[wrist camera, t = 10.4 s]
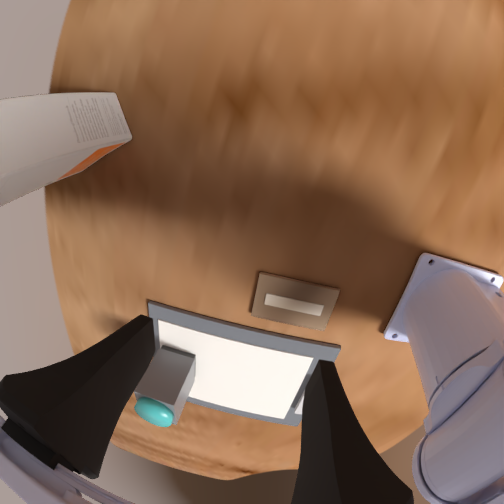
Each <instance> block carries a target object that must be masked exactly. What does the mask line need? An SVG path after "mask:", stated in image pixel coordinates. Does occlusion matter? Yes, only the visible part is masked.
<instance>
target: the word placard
mask: <svg viewBox="0 0 504 504" xmlns="http://www.w3.org/2000/svg"><path fill="white" fill-rule="evenodd" d="M339 293H340V289H338V288H333V287H328V286H324V285H319V284H315V283H310V282H305V281H301V280H296V279H292V278H287V277H283V276H278V275H274V274H269V273H265V272H260V274H259V279H258V284H257V289H256V294H255V299H254V304H253V309H252V314H251V316H254V317H258V318H262V319H267V320H271V321H276V322H281V323H285V324H290V325H295V326H300V327H305V328H310V329H315V330H320V331H324V330H325V328H326V326H327V323H328V321H329V318H330V316H331V313H332V311H333V308H334V306H335V303H336V300H337V298H338V295H339Z"/></svg>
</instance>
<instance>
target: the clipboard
mask: <svg viewBox="0 0 504 504" xmlns="http://www.w3.org/2000/svg"><path fill="white" fill-rule="evenodd" d="M148 308H149V317H150V318H153V324H154V336H155V347H156V351H155V353H154V355H153V358H154V356H155V354H156V353H157V351H158V349H159V348H161V347H162V345H165V346H168V347H171V348H174V349H178V350H181V351H184V352H188V353H191V354H195V355H196V372H195V381H194V384H193V386H192V388H191V391H190V393H189V396H188V398H187V401H188V402H191V403H194V404H198V405H201V406H205V407H208V408H212V409H215V410H219V411H223V412H227V413H231V414H235V415H239V416H244V417H248V418H253V419H258V420H263V421H268V422H273V423H279V424H285V425H291V426H298V425H299V423H300V421H301V420H302V407H303V400H304V393H305V387H306V385H307V383H308V381H309V379H310V377H311V375H312V373H313V371H314V369H315V367H316V365H317V363H318V360H319V359H321V360H327V361H333V362H335V360H336V358H337V356H338V354H339V352H340V350H341V346H340V345H334V344H328V343H323V342H317V341H312V340H307V339H302V338H297V337H292V336H287V335H282V334H277V333H273V332H268V331H264V330H259V329H255V328H251V327H246V326H242V325H238V324H234V323H230V322H226V321H222V320H218V319H214V318H210V317H206V316H203V315H199V314H195V313H192V312H188V311H184V310H181V309H177V308H174V307H170V306H167V305H164V304H160V303H157V302H154V301H149V302H148Z"/></svg>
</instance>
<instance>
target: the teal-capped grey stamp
mask: <svg viewBox="0 0 504 504" xmlns="http://www.w3.org/2000/svg"><path fill="white" fill-rule="evenodd" d="M195 372H196V355H195V354H191V353H188V352H184V351H181V350H178V349H174V348H171V347H168V346H165V345H162V347H161V348H159V349H158V351H157V353H156V354H155V356H154V358H153V359H152V361H151V363H150V365H149V366H148V369H147V370H146V372H145V374H144V375H143V377H142V379H141V380H140V382H139V384H138V385H137V387H136V389H135V391H134V393H135V396H136V400H137V403H136V405H135V407H134V408H135V411H136V412H137V414H138V415H139V416H140V417H142V418H143V419H144V420H146V421H148V422H150V423H152V424H154V425H157V426H161V427H168V426H170V425H171V423H172V424H175V425H177V422H178V420H179V417H180V415H181V413H182V410H183V408H184V405H185V403H186V401H187V398H188V396H189V393H190V391H191V388H192V386H193V384H194V381H195Z"/></svg>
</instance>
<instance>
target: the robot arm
mask: <svg viewBox="0 0 504 504" xmlns="http://www.w3.org/2000/svg"><path fill="white" fill-rule="evenodd" d="M431 259H433V261H432V262H431V263H429V261H430V260H431ZM492 277H493V278H492ZM491 278H492V279H491ZM502 283H503V277H502V276H501V275H499V274H496V273H493V272H490V271H487V270H484V269H480V268H477V267H474V266H471V265H467V264H464V263H461V262H457V261H454V260H450V259H447V258H443V257H440V256H436V255H433V254H429V253H423V254H422V255H420V257H419V259H418V262H417V264H416V266H415V269H414V271H413V273H412V276H411V278H410V280H409V282H408V285H407V287H406V289H405V291H404V293H403V295H402V297H401V299H400V301H399V304H398V306H397V308H396V310H395V312H394V314H393V316H392V317H391V319H390V321H389V323H388V325H387V327H386V329H385V331H384V333H383V334H384V338H385V339H389V340H395V341H402V342H409V343H410V346H411V349H412V352H413V355H414V358H415V362H416V365H417V368H418V372H419V375H420V378H421V382H422V385H423V389H424V393H425V396H426V400H427V404H428V408H429V414H428V416H427V417H426V418H425V419H424V420H423V421H424V426H425V430H426V435H425V436H424V437H423V438H422V439H421V440H420V441H419V443H418V444H417V446H416V448H415V451H414V454H413V460H412V471H413V477H414V481H415V484H416V486H417V488H418V490H419V491H420V493H421V495H422V496H423V497H424V498H425V499H426V500H427V501H429V502H430V503H431V504H504V293H503V292H502V291H501V290H500V287H501V285H502ZM393 334H396V335H393ZM155 351H156V347H155V336H154V324H153V318H150V317H147V316H144V315H139V316H138V317H136V318H135V319H133V320H132V321H130V322H129V323H127V324H126V325H124V326H123V327H121V328H120V329H119V330H117V331H116V332H114V333H113V334H111V335H109V336H108V337H106V338H105V339H103V340H102V341H100V342H98V343H97V344H95V345H93V346H92V347H90V348H88V349H86V350H84V351H83V352H81V353H79V354H77V355H75V356H72V357H70V358H68V359H66V360H63V361H61V362H58V363H55V364H53V365H50V366H47V367H44V368H40V369H37V370H33V371H28V372H24V373H18V374H11V375H6V376H5V377H4V378H3V379H2V380H1V382H0V408H1V409H2V410H3V411H4V413H5V414H6V415H7V416H8V419H7V420H6V421H5V420H4V419H3V418H2V417H1V416H0V478H1V479H2V480H3V481H4V482H5V483H6V484H7V485H8V486H9V487H10V488H11V489H12V490H13V491H14V492H15V493H16V494H18V496H19V497H20V498H22V499H23V500H24V501H25V502H26V503H27V504H92V503H91V502H89V501H87V500H85V499H84V498H82V495H81V493H80V492H82V493H83V494H85V495H87V496H89V497H91V498H92V499H94V500H96V501H98V502H100V503H102V504H134V503H132V502H130V501H127V500H125V499H123V498H121V497H118V496H116V495H114V494H112V493H110V492H108V491H106V490H104V489H102V488H100V487H98V486H96V485H95V484H92V483H91V482H89V481H87V480H85V479H84V478H82V477H80V476H78V475H77V474H75V473H73V471H75V472H77V473H78V474H83V475H85V476H86V477H88V478H90V479H95V478H98V477H99V473H100V469H101V466H102V462H103V459H104V456H105V453H106V450H107V447H108V444H109V441H110V439H111V436H112V434H113V431H114V429H115V426H116V424H117V422H118V419H119V417H120V415H121V413H122V411H123V409H124V407H125V405H126V403H127V402H128V400H129V398H130V397H131V395H132V393H133V392H134V390H135V388H136V387H137V385H138V384H139V382H140V380H141V379H142V377H143V375H144V374H145V372H146V370H147V369H148V366H149V364H150V362H151V360H152V358H153V355H154V353H155ZM79 491H80V492H79ZM291 504H414V499H413V493H412V490H411V489H410V488H409V487H408V486H407V485H405V484H404V483H403V482H402V481H401V480H400V479H399V478H398V477H397V476H396V475H395V474H394V473H393V472H392V471H391V469H390V468H389V467H388V466H387V465H386V463H385V462H384V460H383V459H382V458H381V457H380V455H379V454H378V453H377V451H376V450H375V448H374V447H373V445H372V444H371V442H370V441H369V439H368V438H367V436H366V434H365V433H364V431H363V429H362V427H361V426H360V424H359V422H358V420H357V418H356V416H355V414H354V412H353V410H352V407H351V405H350V403H349V401H348V398H347V396H346V394H345V391H344V389H343V386H342V384H341V381H340V378H339V376H338V373H337V370H336V367H335V364H334V362H333V361H327V360H321V359H319V360H318V363H317V365H316V367H315V369H314V371H313V373H312V375H311V377H310V379H309V381H308V383H307V385H306V387H305V393H304V400H303V407H302V433H301V454H300V463H299V468H298V474H297V479H296V484H295V489H294V494H293V498H292V502H291Z"/></svg>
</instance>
